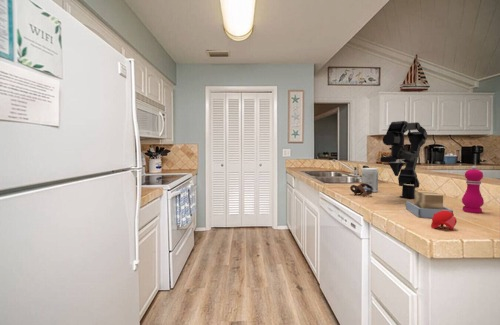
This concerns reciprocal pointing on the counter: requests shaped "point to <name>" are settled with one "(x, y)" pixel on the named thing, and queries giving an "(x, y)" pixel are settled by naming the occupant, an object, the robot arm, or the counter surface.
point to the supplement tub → (370, 178)
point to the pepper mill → (473, 191)
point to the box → (424, 210)
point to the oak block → (428, 200)
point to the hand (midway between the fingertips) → (396, 176)
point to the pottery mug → (361, 189)
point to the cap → (444, 219)
